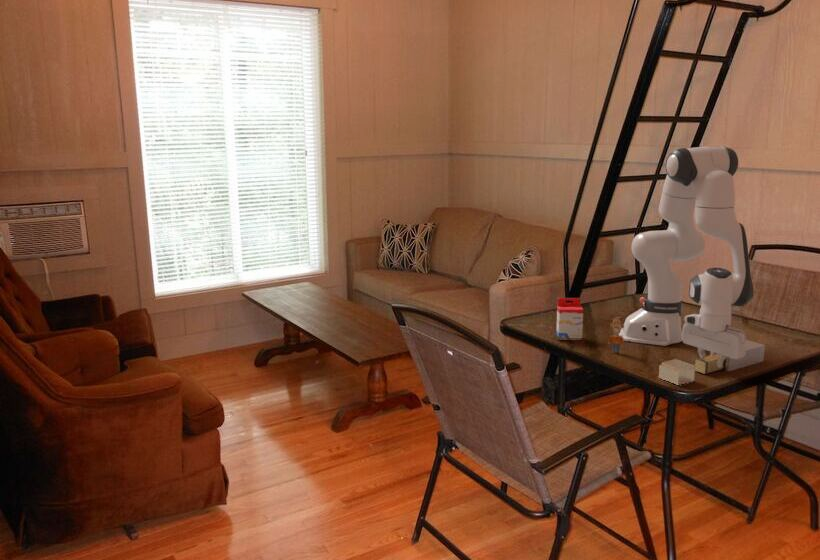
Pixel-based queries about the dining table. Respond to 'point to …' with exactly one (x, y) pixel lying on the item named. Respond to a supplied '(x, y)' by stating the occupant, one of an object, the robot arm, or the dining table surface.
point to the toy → (616, 333)
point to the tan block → (708, 364)
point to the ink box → (569, 318)
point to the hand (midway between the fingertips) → (710, 364)
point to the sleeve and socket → (685, 372)
